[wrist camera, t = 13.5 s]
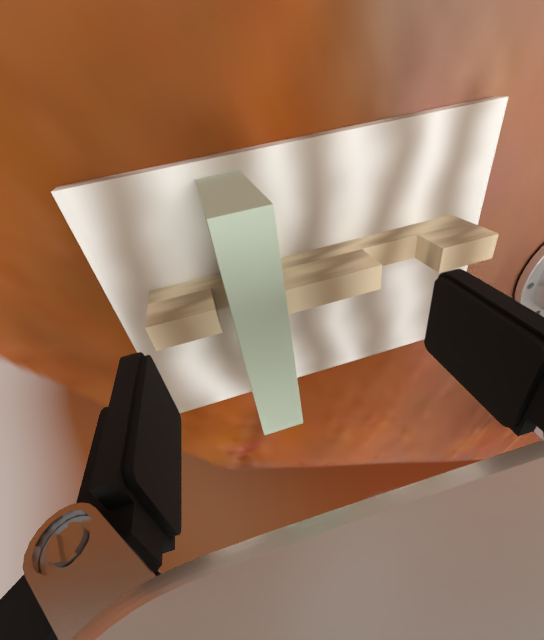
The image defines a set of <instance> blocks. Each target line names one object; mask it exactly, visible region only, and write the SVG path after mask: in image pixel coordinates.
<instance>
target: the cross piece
mask: <svg viewBox="0 0 544 640" xmlns="http://www.w3.org/2000/svg"><path fill="white" fill-rule="evenodd" d="M195 182H196V186H197V190H198V193H199V197H200V201H201V204H202V208H203V212H204V216H205V219H206V223H207V227H208V230H209V234H210V238H211V242H212V245H213V249H214V253H215V256H216V260H217V264H218V267H219V271H220V274H221V278H222V282H223V285H224V289H225V293H226V296H227V300H228V304H229V308H230V312H231V316H232V320H233V323H234V327H235V331H236V334H237V338H238V342H239V346H240V349H241V353H242V357H243V360H244V364H245V367H246V371H247V375H248V378H249V382H250V385H251V389H252V393H253V396H254V400H255V403H256V407H257V411H258V414H259V418H260V421H261V425H262V429H263V432H264V435H267V434H270V433H273V432H276V431H280V430H283V429H286V428H289V427H292V426H295V425H298V424H302V423H303V416H302V409H301V402H300V395H299V388H298V380H297V373H296V366H295V359H294V351H293V344H292V337H291V330H290V323H289V315H288V308H287V301H286V294H285V286H284V279H283V272H282V265H281V258H280V250H279V243H278V236H277V229H276V221H275V214H274V207H273V203H272V202H271V201H270V200H269V199H268V198H267V197H266V196H265V195H264V194H263V193H262V192H261V191H260V190H259V189H258V188H257V187H256V186H255V185H254V184H253V183H252V182H251V181H250V180H249V179H248V178H247V177H246V176H245V175H244V174H243V173H242V172H241V171H240V170H235V171H230V172H226V173H221V174H216V175H211V176H206V177H202V178H197V179H195Z"/></svg>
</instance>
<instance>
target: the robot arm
mask: <svg viewBox="0 0 544 640" xmlns="http://www.w3.org/2000/svg"><path fill="white" fill-rule="evenodd" d="M424 343H425V347H426V349H427V350H428V352H429V353H430V354H431V355H432V356H433V357H434V358H435V359H436V360H437V361H438V362H439V363H440V364H441V365H442V366H443V367H444V368H445V369H446V370H447V371H448V372H449V373H450V374H451V375H453V376H454V377H455V378H456V379H457V380H458V381H459V382H460V383H461V384H462V385H463V386H464V387H465V388H466V389H467V390H468V391H469V392H470V393H471V394H472V395H473V396H474V397H475V398H476V399H477V400H478V401H479V402H480V403H481V404H482V405H483V406H484V407H485V408H486V409H487V410H488V411H489V412H490V413H491V414H492V415H493V416H494V417H495V418H496V419H497V420H498V421H499V422H500V423H501V424H502V425H503V426H505V427H509V428H510V429H511V430H512V431H513V432H514V433H515V434H516V435H517V436H520V435H523V434H526V433H529V432H532V431H534V430H535V429H536V427H538V428H539V429H541V430H542V431H543V437H544V245H543V246H542V247H541V248H540V249H539V250H538V251H537V253H536V254H535V255H534V256H533V257H532V259H531V260H530V261H529V263H528V264H527V266H526V267H525V269H524V271H523V273H522V274H521V276H520V279H519V281H518V284H517V286H516V291H515V300H514V299H512V298H510V297H509V296H507V295H505V294H504V293H502V292H500V291H498V290H497V289H495V288H493V287H492V286H490V285H488V284H486V283H485V282H483V281H481V280H480V279H478V278H476V277H475V276H473V275H471V274H469V273H468V272H466V271H464V270H462V269H455V270H451V271H447V272H443V273H441V274H440V275H439V276H438V279H436V280H435V282H434V288H433V293H432V299H431V305H430V311H429V317H428V323H427V329H426V334H425V341H424ZM180 533H181V417H180V413H179V411H178V409H177V407H176V405H175V403H174V401H173V399H172V397H171V395H170V393H169V391H168V389H167V387H166V385H165V383H164V381H163V379H162V377H161V375H160V373H159V371H158V369H157V367H156V365H155V363H154V361H153V359H152V357H151V356H150V355H146V356H145V355H144V354H143V353H142V352H139V353H135V354H131V355H127V356H124V357H121V359H120V361H119V366H118V370H117V374H116V378H115V382H114V387H113V391H112V395H111V399H110V403H109V406H108V407H105V408H103V409H102V410H101V413H100V415H99V419H98V423H97V427H96V431H95V434H94V438H93V442H92V446H91V450H90V454H89V457H88V461H87V465H86V469H85V472H84V476H83V480H82V484H81V488H80V491H79V495H78V499H77V503H76V504H72V505H69V506H67V507H65V508H63V509H61V510H59V511H58V512H57V513H55V514H54V515H53V516H52V517H50V518H49V519H48V520H47V521H46V522H45V523H44V524H43V525H42V526H41V527H40V528H39V529H38V531H37V532H36V534H35V535H34V537H33V538H32V540H31V541H30V543H29V546H28V548H27V550H26V553H25V555H24V563H23V570H24V575H23V576H22V577H21V578H20V579H19V580H18V581H17V583H16V584H15V585H14V586H13V587H12V588H11V589H10V590H9V591H8V592H7V593H6V594H5V595H4V596H3V597H2V598H1V599H0V640H544V440H543V441H539V442H536V443H533V444H530V445H527V446H524V447H521V448H518V449H515V450H512V451H509V452H506V453H503V454H500V455H497V456H494V457H491V458H488V459H485V460H482V461H479V462H476V463H473V464H470V465H467V466H464V467H461V468H458V469H455V470H452V471H449V472H446V473H443V474H440V475H437V476H434V477H431V478H428V479H425V480H422V481H419V482H416V483H413V484H410V485H407V486H404V487H401V488H398V489H395V490H392V491H389V492H386V493H383V494H380V495H377V496H374V497H371V498H368V499H365V500H362V501H359V502H356V503H353V504H350V505H347V506H345V507H341V508H339V509H336V510H333V511H330V512H327V513H324V514H321V515H318V516H315V517H312V518H309V519H306V520H304V521H300V522H297V523H295V524H292V525H289V526H286V527H283V528H280V529H277V530H274V531H271V532H268V533H265V534H262V535H260V536H257V537H254V538H252V539H249V540H246V541H243V542H240V543H238V544H235V545H232V546H229V547H227V548H224V549H221V550H218V551H216V552H213V553H210V554H207V555H204V556H202V557H199V558H197V559H194V560H192V561H190V562H188V563H185V564H182V565H180V566H178V567H175V568H173V569H171V570H168V571H166V572H164V573H161V572H160V571H159V570H158V569H159V567H160V566H161V565H162V554H163V553H166V552H168V551H172V550H174V549H175V536H176V535H179V534H180Z"/></svg>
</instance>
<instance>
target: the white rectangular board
mask: <svg viewBox="0 0 544 640" xmlns="http://www.w3.org/2000/svg"><path fill="white" fill-rule="evenodd" d="M507 101H508V97H488V98H484V99H479V100H474V101H469V102H464V103H459V104H455V105H450V106H445V107H440V108H435V109H430V110H426V111H421V112H416V113H411V114H406V115H401V116H397V117H392V118H387V119H382V120H377V121H372V122H368V123H363V124H358V125H353V126H348V127H343V128H339V129H334V130H329V131H324V132H319V133H314V134H310V135H305V136H300V137H295V138H290V139H285V140H281V141H276V142H271V143H266V144H261V145H256V146H251V147H247V148H242V149H237V150H232V151H227V152H222V153H218V154H213V155H208V156H203V157H198V158H193V159H189V160H184V161H179V162H174V163H169V164H164V165H160V166H155V167H150V168H145V169H140V170H135V171H131V172H126V173H121V174H116V175H111V176H106V177H102V178H97V179H92V180H87V181H82V182H77V183H73V184H68V185H63V186H58V187H57V188H55V189H54V190H53V191H51V193H52V195H53V197H54V199H55V201H56V202H57V204H58V206H59V208H60V210H61V212H62V214H63V215H64V217H65V219H66V221H67V223H68V225H69V227H70V228H71V230H72V232H73V234H74V236H75V238H76V240H77V241H78V243H79V245H80V247H81V249H82V251H83V253H84V255H85V256H86V258H87V260H88V262H89V264H90V266H91V268H92V269H93V271H94V273H95V275H96V277H97V279H98V281H99V282H100V284H101V286H102V288H103V290H104V292H105V294H106V295H107V297H108V299H109V301H110V303H111V305H112V307H113V308H114V310H115V312H116V314H117V316H118V318H119V320H120V321H121V323H122V325H123V327H124V329H125V331H126V333H127V335H128V336H129V338H130V340H131V342H132V344H133V346H134V348H135V349H136V351H137V353H139V352H142V353H143V354H144V355H145V356H146V355H150V356H151V357H152V359H153V361H154V363H155V365H156V367H157V369H158V371H159V373H160V375H161V377H162V379H163V381H164V383H165V385H166V387H167V389H168V391H169V393H170V395H171V397H172V399H173V401H174V403H175V405H176V407H177V409H178V411H179V413H182V412H186V411H189V410H192V409H195V408H199V407H202V406H205V405H209V404H212V403H215V402H219V401H222V400H225V399H229V398H232V397H235V396H238V395H242V394H245V393H248V392H252V389H251V385H250V382H249V378H248V375H247V371H246V367H245V364H244V360H243V357H242V353H241V349H240V346H239V342H238V338H237V334H236V331H235V327H234V323H233V320H232V316H231V312H230V308H229V304H228V300H227V296H226V293H225V289H224V285H223V282H222V278H221V274H220V271H219V267H218V264H217V260H216V256H215V253H214V249H213V245H212V242H211V238H210V234H209V230H208V227H207V223H206V219H205V216H204V212H203V208H202V204H201V201H200V197H199V193H198V190H197V186H196V182H195V179H197V178H202V177H206V176H211V175H216V174H221V173H226V172H230V171H235V170H240V171H241V172H242V173H243V174H244V175H245V176H246V177H247V178H248V179H249V180H250V181H251V182H252V183H253V184H254V185H255V186H256V187H257V188H258V189H259V190H260V191H261V192H262V193H263V194H264V195H265V196H266V197H267V198H268V199H269V200H270V201H271V202H272V203H273V207H274V214H275V221H276V229H277V236H278V243H279V250H280V258H281V265H282V272H283V279H284V286H285V294H286V301H287V308H288V315H289V323H290V330H291V337H292V344H293V351H294V359H295V366H296V373H297V378H298V377H301V376H305V375H308V374H311V373H315V372H318V371H321V370H324V369H328V368H331V367H334V366H338V365H341V364H344V363H348V362H351V361H354V360H358V359H361V358H364V357H367V356H371V355H374V354H377V353H381V352H384V351H387V350H391V349H394V348H397V347H401V346H404V345H407V344H410V343H414V342H417V341H420V340H424V339H425V334H426V329H427V323H428V317H429V311H430V305H431V299H432V293H433V288H434V282H435V280H436V279H438V276H439V275H440V274H441V273H443V272H447V271H451V270H455V269H462V270H464V271H467V267H468V265H470V264H473V263H477V262H480V261H484V260H488V259H491V258H492V256H493V253H494V249H495V246H496V242H497V239H498V235H499V234H498V233H496V232H493V231H491V230H488V229H486V228H483V227H481V226H478V221H479V217H480V213H481V209H482V205H483V200H484V196H485V192H486V188H487V184H488V180H489V175H490V171H491V167H492V163H493V159H494V155H495V151H496V146H497V142H498V138H499V134H500V130H501V126H502V121H503V117H504V113H505V109H506V105H507Z"/></svg>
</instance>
